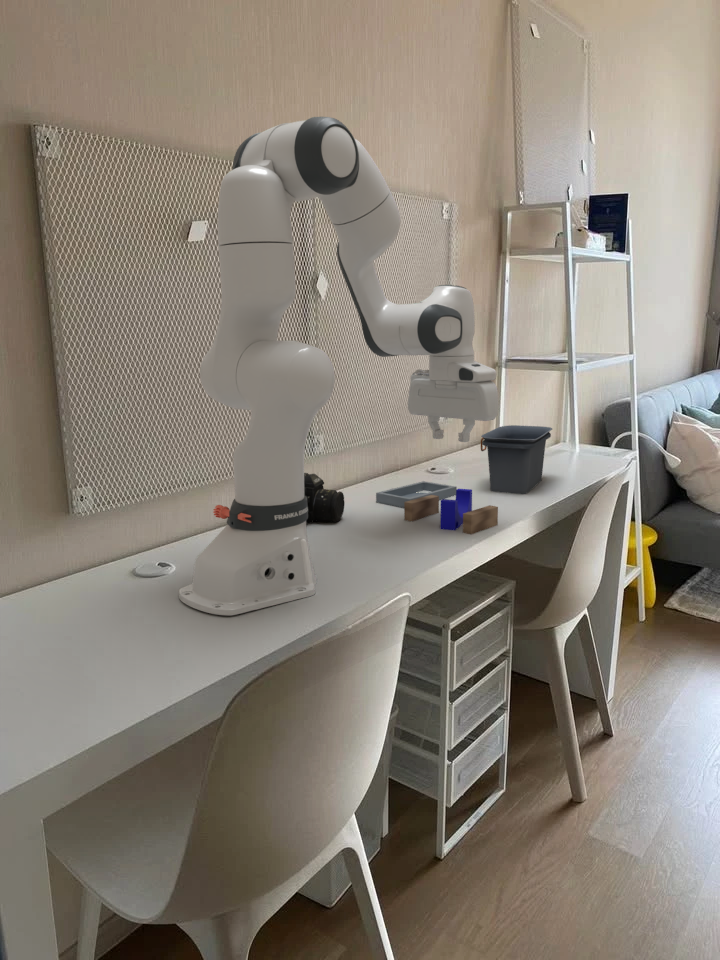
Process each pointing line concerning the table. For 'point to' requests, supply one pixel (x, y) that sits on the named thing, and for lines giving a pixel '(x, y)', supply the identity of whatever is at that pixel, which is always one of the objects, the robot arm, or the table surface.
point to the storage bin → (515, 457)
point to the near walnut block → (480, 519)
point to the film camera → (322, 500)
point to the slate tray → (414, 493)
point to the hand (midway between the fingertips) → (450, 440)
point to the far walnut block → (421, 507)
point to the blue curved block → (455, 509)
